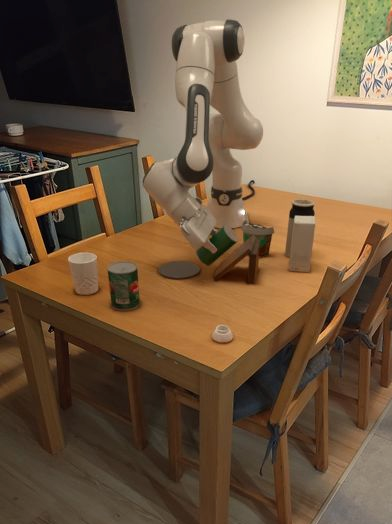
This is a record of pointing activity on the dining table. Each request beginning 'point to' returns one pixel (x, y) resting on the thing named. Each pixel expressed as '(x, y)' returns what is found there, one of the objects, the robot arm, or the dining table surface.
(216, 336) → the white jar
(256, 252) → the stand
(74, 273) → the white cup
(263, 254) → the food container
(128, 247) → the dining table surface
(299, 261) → the cosmetic box
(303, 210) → the travel mug
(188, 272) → the disc
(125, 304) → the canned tomato
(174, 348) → the dining table surface
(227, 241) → the can
